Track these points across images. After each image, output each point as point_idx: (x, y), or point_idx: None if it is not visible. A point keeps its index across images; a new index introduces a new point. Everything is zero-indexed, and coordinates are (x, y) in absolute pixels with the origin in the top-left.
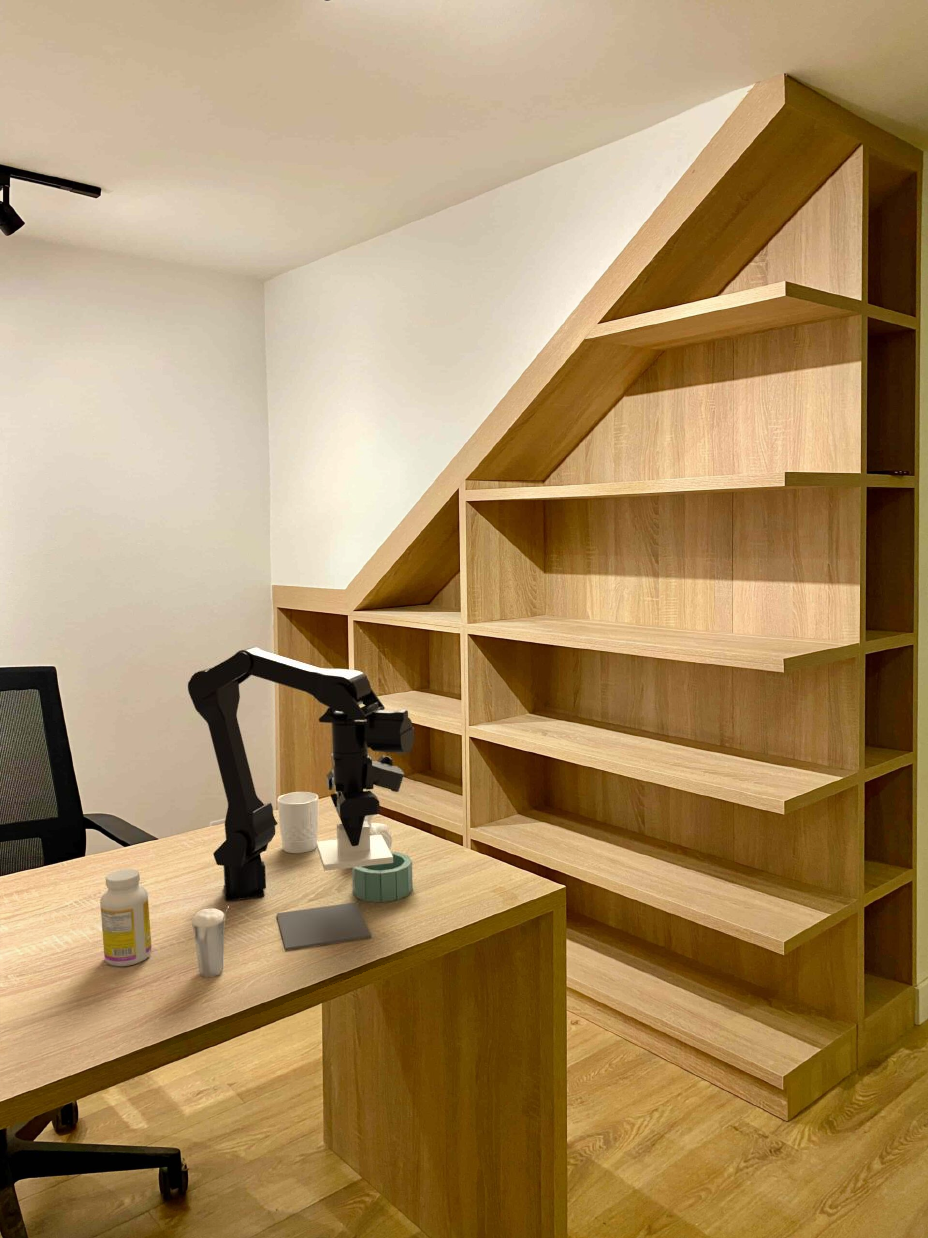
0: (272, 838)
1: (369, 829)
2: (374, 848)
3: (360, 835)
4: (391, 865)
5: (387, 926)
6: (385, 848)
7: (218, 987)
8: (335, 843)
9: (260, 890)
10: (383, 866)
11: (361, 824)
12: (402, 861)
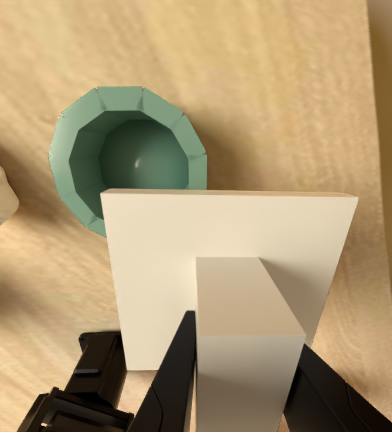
0: (56, 420)
1: (297, 322)
2: (247, 242)
3: (304, 343)
4: (92, 140)
5: (298, 190)
6: (264, 207)
7: (343, 367)
8: (156, 335)
9: (119, 338)
10: (86, 158)
11: (374, 415)
12: (112, 112)
